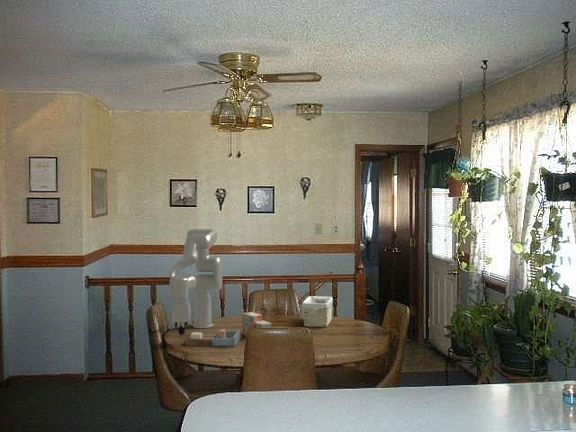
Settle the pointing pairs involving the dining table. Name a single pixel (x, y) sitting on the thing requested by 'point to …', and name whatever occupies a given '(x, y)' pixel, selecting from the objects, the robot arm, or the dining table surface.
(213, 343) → the tray
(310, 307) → the storage basket
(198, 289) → the robot arm
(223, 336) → the peach block
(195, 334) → the cream tile
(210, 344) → the walnut board
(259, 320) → the stack of blocks
